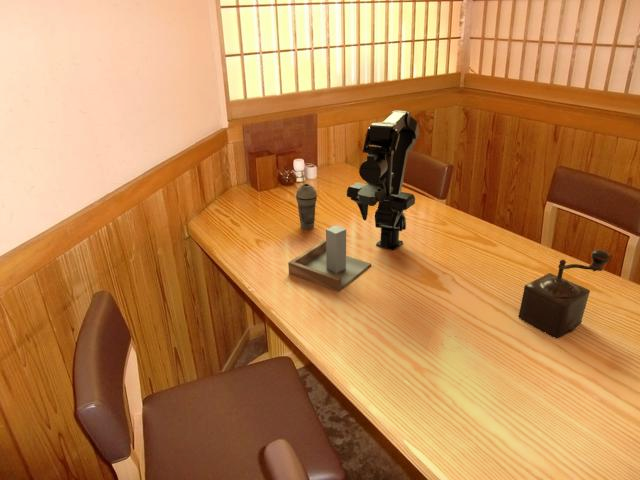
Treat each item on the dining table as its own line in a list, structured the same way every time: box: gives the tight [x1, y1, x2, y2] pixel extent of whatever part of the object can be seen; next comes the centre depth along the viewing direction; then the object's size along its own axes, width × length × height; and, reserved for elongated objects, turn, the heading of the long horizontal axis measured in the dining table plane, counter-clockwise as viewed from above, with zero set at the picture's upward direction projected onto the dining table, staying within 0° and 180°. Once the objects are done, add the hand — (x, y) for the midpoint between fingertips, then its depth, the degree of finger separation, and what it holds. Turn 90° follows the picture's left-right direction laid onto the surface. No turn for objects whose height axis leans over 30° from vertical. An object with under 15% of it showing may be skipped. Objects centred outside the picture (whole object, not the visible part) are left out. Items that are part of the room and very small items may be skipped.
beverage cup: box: [295, 171, 318, 231], centre depth 157 cm, size 7×7×20 cm
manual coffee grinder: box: [517, 249, 611, 339], centre depth 108 cm, size 16×11×18 cm
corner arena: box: [287, 239, 372, 293], centre depth 135 cm, size 17×17×4 cm
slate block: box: [325, 225, 347, 273], centre depth 132 cm, size 4×4×12 cm
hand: (378, 223), depth 132 cm, fingers open, 9 cm apart
